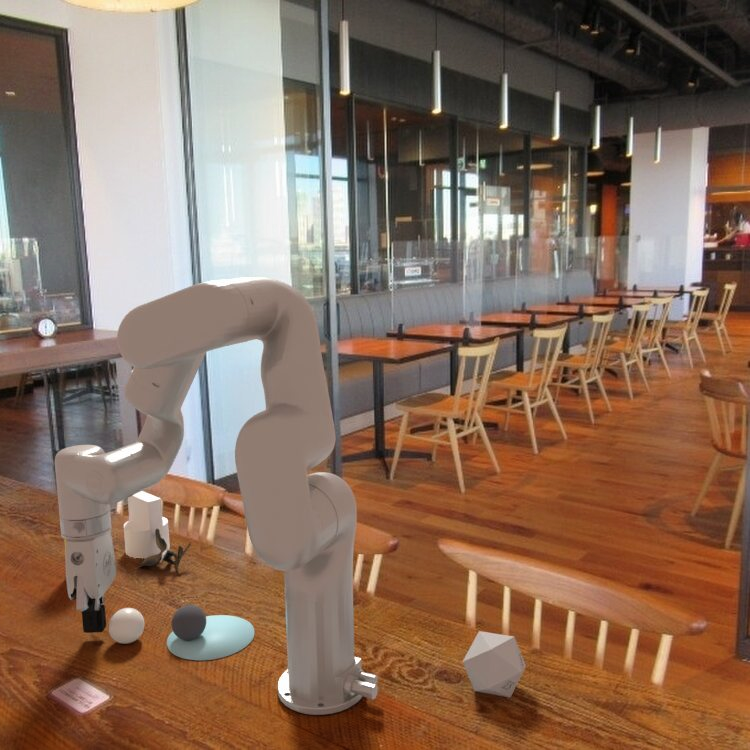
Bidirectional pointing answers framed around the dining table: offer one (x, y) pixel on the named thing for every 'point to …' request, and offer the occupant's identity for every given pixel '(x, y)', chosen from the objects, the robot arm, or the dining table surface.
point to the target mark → (214, 639)
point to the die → (494, 664)
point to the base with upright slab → (144, 526)
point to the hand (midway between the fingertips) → (95, 629)
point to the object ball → (188, 622)
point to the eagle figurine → (164, 553)
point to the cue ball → (126, 625)
